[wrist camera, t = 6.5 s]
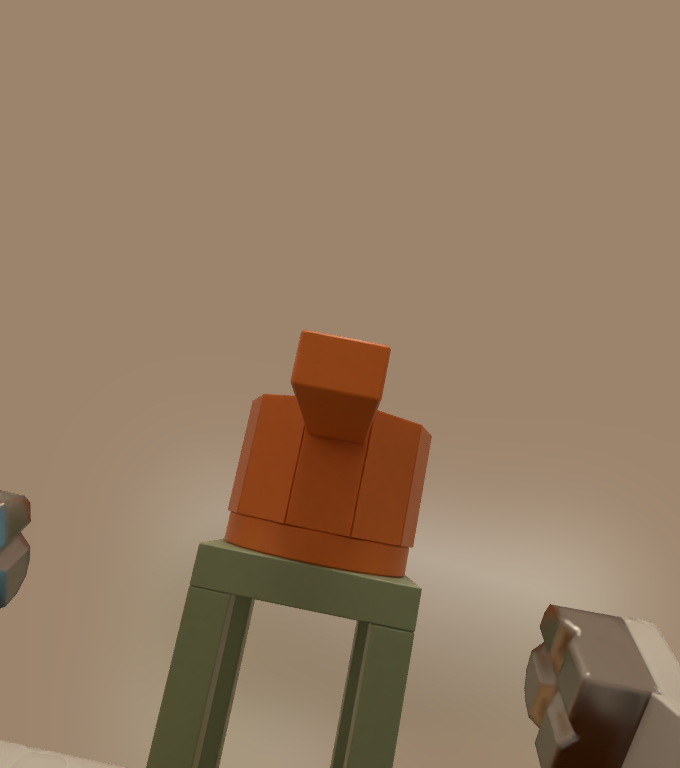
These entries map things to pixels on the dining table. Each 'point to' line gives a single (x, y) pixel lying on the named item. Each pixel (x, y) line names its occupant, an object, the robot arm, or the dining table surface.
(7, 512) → the robot arm
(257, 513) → the measuring cup
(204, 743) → the plant stand
